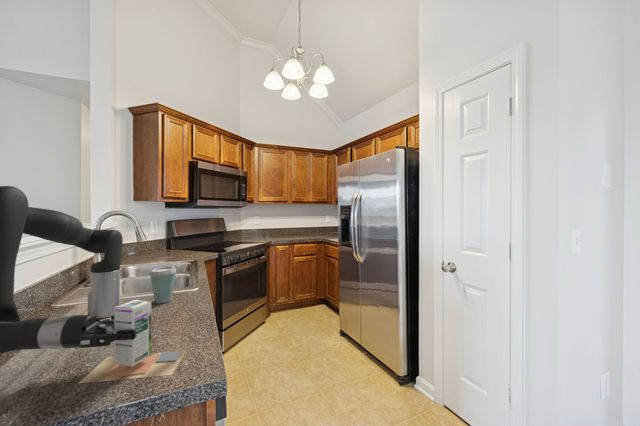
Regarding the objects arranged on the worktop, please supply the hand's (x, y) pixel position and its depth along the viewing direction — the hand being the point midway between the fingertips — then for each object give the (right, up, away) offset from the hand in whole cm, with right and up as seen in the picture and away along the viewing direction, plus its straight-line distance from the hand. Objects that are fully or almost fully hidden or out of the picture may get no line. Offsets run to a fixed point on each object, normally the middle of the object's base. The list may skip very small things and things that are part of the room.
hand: (142, 327), depth 72 cm
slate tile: (+5, -10, +4) cm, 11 cm away
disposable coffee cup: (-25, -10, +54) cm, 61 cm away
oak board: (-1, -11, 0) cm, 11 cm away
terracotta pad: (-2, -10, 0) cm, 10 cm away
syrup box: (-2, -8, 0) cm, 9 cm away
